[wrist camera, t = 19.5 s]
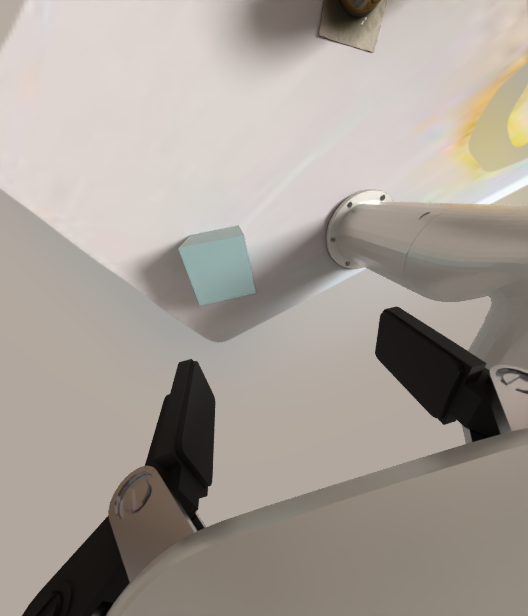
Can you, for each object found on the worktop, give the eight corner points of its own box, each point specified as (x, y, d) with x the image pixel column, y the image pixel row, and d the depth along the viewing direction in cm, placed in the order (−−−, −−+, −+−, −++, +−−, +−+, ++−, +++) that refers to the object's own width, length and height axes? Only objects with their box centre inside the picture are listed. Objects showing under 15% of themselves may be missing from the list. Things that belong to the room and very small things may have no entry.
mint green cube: (238, 225, 31) (243, 234, 24) (248, 272, 35) (255, 293, 28) (189, 235, 31) (178, 248, 23) (205, 281, 35) (199, 305, 27)
